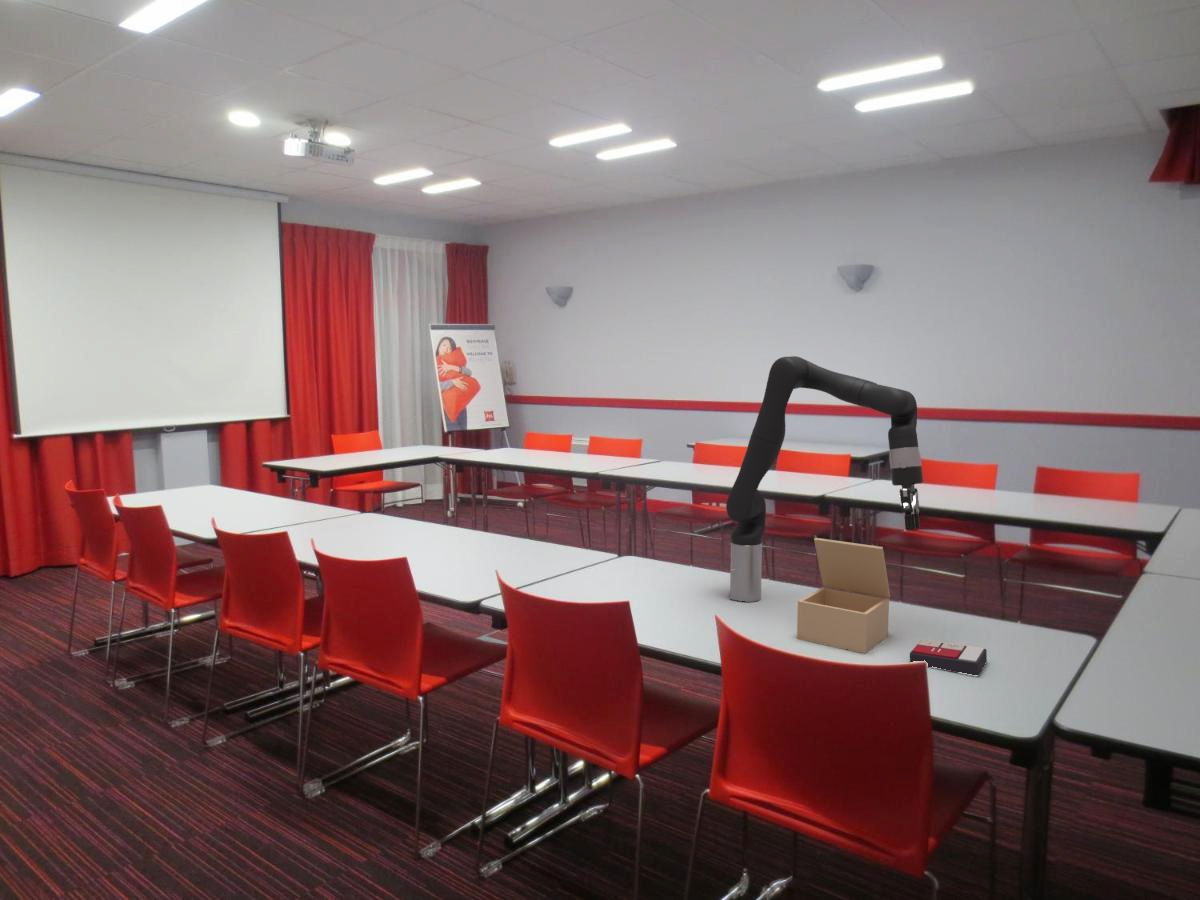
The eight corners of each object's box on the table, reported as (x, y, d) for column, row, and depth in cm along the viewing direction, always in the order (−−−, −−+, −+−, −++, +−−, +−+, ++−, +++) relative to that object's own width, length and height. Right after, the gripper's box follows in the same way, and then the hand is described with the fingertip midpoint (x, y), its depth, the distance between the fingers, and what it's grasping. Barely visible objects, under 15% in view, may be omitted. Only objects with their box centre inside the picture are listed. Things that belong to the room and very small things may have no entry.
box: (822, 622, 221) (823, 587, 220) (887, 636, 210) (889, 598, 209) (797, 638, 209) (797, 601, 208) (865, 653, 198) (866, 614, 196)
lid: (823, 586, 220) (824, 584, 221) (889, 598, 209) (890, 596, 209) (814, 539, 213) (815, 537, 214) (881, 548, 202) (882, 547, 203)
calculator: (920, 636, 200) (986, 645, 191) (921, 653, 200) (987, 663, 192) (909, 650, 191) (977, 659, 182) (909, 667, 191) (977, 678, 183)
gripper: (894, 468, 215) (901, 529, 213) (886, 466, 202) (893, 531, 201) (924, 465, 211) (931, 527, 210) (917, 463, 199) (925, 529, 197)
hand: (913, 529), depth 205 cm, fingers open, 8 cm apart
